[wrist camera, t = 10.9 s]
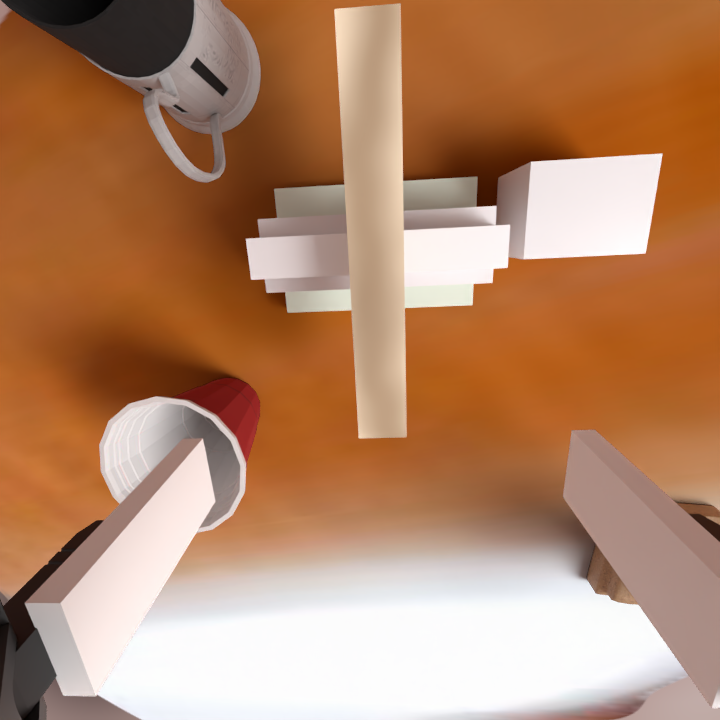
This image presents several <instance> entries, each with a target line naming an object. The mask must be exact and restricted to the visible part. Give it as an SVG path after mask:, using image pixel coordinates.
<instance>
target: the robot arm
mask: <svg viewBox="0 0 720 720" xmlns="http://www.w3.org/2000/svg"><path fill="white" fill-rule="evenodd" d="M563 498H564V499H565V501H566V502H567V504H568V505H569V507H570V508H571V509H572V511H573V512H574V514H575V515H576V516H577V518H578V519H579V521H580V522H581V524H582V525H583V526H584V528H585V529H586V531H587V532H588V533H589V535H590V536H591V538H592V539H593V541H594V542H595V543H596V545H597V546H598V548H599V549H600V551H601V552H602V553H603V555H604V556H605V558H606V559H607V560H608V562H609V563H610V565H611V566H612V568H613V569H614V570H615V572H616V573H617V575H618V576H619V577H620V579H621V580H622V582H623V583H624V585H625V586H626V587H627V589H628V590H629V592H630V593H631V594H632V596H633V597H634V599H635V600H636V602H637V603H638V604H639V606H640V607H641V609H642V610H643V612H644V613H645V614H646V616H647V617H648V619H649V620H650V621H651V623H652V624H653V626H654V627H655V629H656V630H657V631H658V633H659V634H660V636H661V637H662V638H663V640H664V641H665V643H666V644H667V646H668V647H669V648H670V650H671V651H672V653H673V654H674V655H675V657H676V658H677V660H678V661H679V663H680V664H681V665H682V667H683V668H684V670H685V671H686V672H687V674H688V675H689V677H690V678H691V679H692V681H693V682H694V684H695V685H696V687H697V688H698V690H699V691H700V692H701V694H702V695H703V697H704V698H705V699H706V701H707V702H708V704H709V705H710V706H711V708H720V525H719V524H717V523H715V522H714V521H712V520H710V519H708V518H706V517H705V516H703V515H701V514H688V513H687V512H686V511H685V510H683V509H682V508H681V507H680V506H679V505H678V504H677V503H676V502H675V501H673V500H672V499H671V498H670V497H669V496H668V495H667V494H666V493H665V492H663V491H662V490H661V489H660V488H659V487H658V486H657V485H656V484H654V483H653V482H652V481H651V480H650V479H649V478H648V477H647V476H646V475H644V474H643V473H642V472H641V471H640V470H639V469H638V468H637V467H636V466H634V465H633V464H632V463H631V462H630V461H629V460H628V459H627V458H626V457H624V456H623V455H622V454H621V453H620V452H619V451H618V450H617V449H616V448H614V447H613V446H612V445H611V444H610V443H609V442H608V441H607V440H606V439H604V438H603V437H602V436H601V435H600V434H599V433H598V432H597V431H596V430H572V433H571V441H570V448H569V456H568V463H567V471H566V478H565V486H564V493H563ZM214 503H215V497H214V492H213V487H212V481H211V476H210V471H209V466H208V461H207V456H206V451H205V446H204V441H203V438H198V439H182V440H181V441H180V442H179V443H178V444H177V445H176V446H175V447H174V448H173V449H172V451H171V452H170V453H169V454H168V455H167V456H166V457H165V458H164V459H163V460H162V461H161V462H160V463H159V464H158V465H157V466H156V467H155V468H154V469H153V470H152V471H151V472H150V473H149V474H148V475H147V476H146V478H145V479H144V480H143V481H142V482H141V483H140V484H139V485H138V486H137V487H136V488H135V489H134V490H133V491H132V492H131V493H130V494H129V495H128V496H127V497H126V498H125V499H124V500H123V501H122V502H121V503H120V505H119V506H118V507H117V508H116V509H115V510H114V511H113V512H112V513H111V514H110V515H109V516H108V517H107V518H106V519H105V520H97V521H95V522H94V523H92V524H91V525H89V526H88V527H86V528H85V529H83V530H82V531H80V532H78V533H77V534H76V535H75V536H74V537H73V538H72V539H71V540H70V541H69V542H68V543H67V544H66V545H65V546H64V547H63V548H62V550H61V552H58V553H57V554H56V555H55V556H54V557H53V558H52V559H51V560H50V561H49V563H48V565H45V566H44V567H43V568H42V569H40V570H39V571H38V572H37V573H36V574H35V575H34V576H33V577H32V578H31V579H30V580H29V581H28V582H27V583H26V584H25V585H24V586H23V587H22V588H21V589H20V590H19V591H18V592H17V593H16V594H15V595H14V596H13V597H12V598H11V599H10V600H9V601H8V602H7V603H6V604H5V605H4V606H3V605H2V602H1V600H0V720H46V703H45V700H44V697H43V694H44V693H45V691H46V690H47V689H48V687H49V686H50V685H51V683H52V682H53V680H54V679H55V678H56V679H57V682H58V684H59V686H60V689H61V691H62V694H63V696H96V695H97V694H98V692H99V690H100V689H101V687H102V686H103V684H104V682H105V681H106V679H107V677H108V676H109V674H110V673H111V671H112V669H113V668H114V666H115V664H116V663H117V661H118V660H119V658H120V656H121V655H122V653H123V651H124V650H125V648H126V646H127V645H128V643H129V642H130V640H131V638H132V637H133V635H134V633H135V632H136V630H137V629H138V627H139V625H140V624H141V622H142V620H143V619H144V617H145V615H146V614H147V612H148V611H149V609H150V607H151V606H152V604H153V602H154V601H155V599H156V598H157V596H158V594H159V593H160V591H161V589H162V588H163V586H164V584H165V583H166V581H167V580H168V578H169V576H170V575H171V573H172V571H173V570H174V568H175V567H176V565H177V563H178V562H179V560H180V558H181V557H182V555H183V553H184V552H185V550H186V549H187V547H188V545H189V544H190V542H191V540H192V539H193V537H194V536H195V534H196V532H197V531H198V529H199V527H200V526H201V524H202V523H203V521H204V519H205V518H206V516H207V514H208V513H209V511H210V509H211V508H212V506H213V505H214Z"/></svg>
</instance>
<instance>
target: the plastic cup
mask: <svg viewBox="0 0 720 720" xmlns="http://www.w3.org/2000/svg"><path fill="white" fill-rule="evenodd" d="M259 417H260V401H259V399H258V396H257V394H256V392H255V391H254V390H253V389H252V388H251V387H250V385H249V384H247V383H245V382H243V381H241V380H239V379H234V378H222V379H218V380H215V381H212V382H209V383H207V384H205V385H203V386H199V387H196V388H194V389H191V390H189V391H186V392H184V393H181V394H179V395H177V396H174V397H172V398H170V397H163V396H156V397H152V398H148V399H145V400H141V401H137V402H133V403H130V404H128V405H127V406H126V407H124V408H123V409H122V410H121V411H120V412H119V413H118V414H116V415H115V416H114V417H113V418H112V419H111V420H110V421H109V422H108V425H107V427H106V430H105V432H104V435H103V437H102V440H101V442H100V445H99V447H100V463H101V473H102V475H103V477H104V479H105V481H106V483H107V485H108V487H109V489H110V492H111V494H112V496H113V497H114V498H115V499H116V500H117V501H118V502H119V503H121V502H122V501H123V500H124V499H125V498H126V497H127V496H128V495H129V494H130V493H131V492H132V491H133V490H134V489H135V488H136V487H137V486H138V485H139V484H140V483H141V482H142V481H143V480H144V479H145V478H146V476H147V475H148V474H149V473H150V472H151V471H152V470H153V469H154V468H155V467H156V466H157V465H158V464H159V463H160V462H161V461H162V460H163V459H164V458H165V457H166V456H167V455H168V454H169V453H170V452H171V451H172V449H173V448H174V447H175V446H176V445H177V444H178V443H179V442H180V441H181V440H182V439H198V438H203V441H204V446H205V451H206V456H207V461H208V466H209V471H210V476H211V481H212V487H213V492H214V497H215V503H214V505H213V506H212V508H211V509H210V511H209V513H208V514H207V516H206V518H205V519H204V521H203V523H202V524H201V526H200V527H199V529H198V531H197V532H196V533H198V532H203V531H208V530H212V529H214V528H215V527H216V526H218V525H219V524H221V523H222V522H223V521H225V520H226V519H228V518H229V517H230V516H232V515H233V513H234V511H235V509H236V508H237V506H238V504H239V502H240V500H241V498H242V496H243V495H244V493H245V481H246V467H247V461H248V457H249V454H250V451H251V447H252V444H253V441H254V437H255V434H256V431H257V423H258V420H259Z"/></svg>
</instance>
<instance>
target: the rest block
mask: <svg viewBox="0 0 720 720" xmlns="http://www.w3.org/2000/svg"><path fill="white" fill-rule="evenodd" d="M661 160H662V154H648V155H632V156H616V157H599V158H583V159H567V160H551V161H535V162H530V163H527V164H525V165H523V166H521V167H519V168H517V169H515V170H513V171H511V172H509V173H507V174H505V175H503V176H501V177H499V178H498V190H497V209H496V225H510V238H509V253H508V257H512V258H519V259H539V258H560V257H581V256H602V255H623V254H644V253H646V248H647V242H648V236H649V230H650V224H651V219H652V213H653V207H654V201H655V195H656V189H657V183H658V178H659V172H660V166H661Z"/></svg>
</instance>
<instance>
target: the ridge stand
mask: <svg viewBox="0 0 720 720" xmlns="http://www.w3.org/2000/svg"><path fill="white" fill-rule="evenodd" d="M477 180H478V177H461V178H444V179H428V180H411V181H403V216H404V287H405V308H414V307H439V306H463V305H473V284H478V283H493V269H494V268H508V253H509V238H510V225H496V209H497V206H485V207H476V205H477ZM274 194H275V203H276V213H277V218H270V219H258V227H259V236H260V238H249V239H246V245H247V253H248V260H249V267H250V275H251V280H258V279H265V284H266V292H267V293H276V292H285V295H286V305H287V313H294V312H318V311H342V310H351V292H350V275H349V257H348V239H347V222H346V204H345V186H344V185H328V186H312V187H295V188H279V189H274Z"/></svg>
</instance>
